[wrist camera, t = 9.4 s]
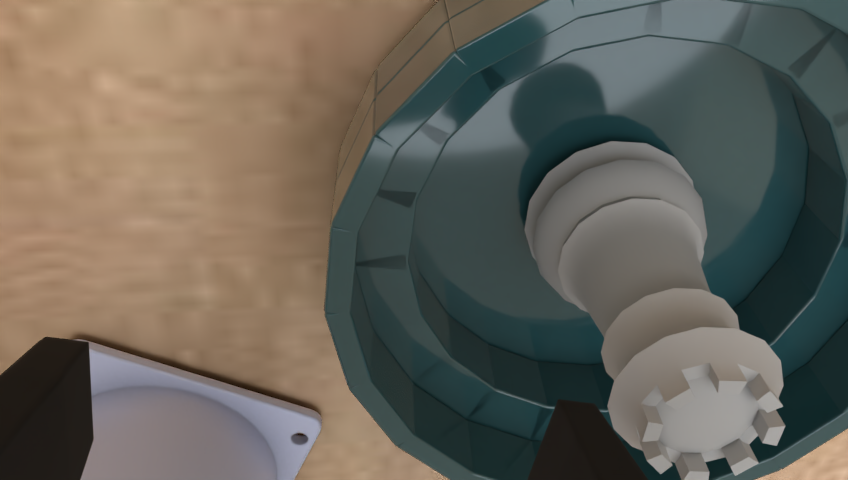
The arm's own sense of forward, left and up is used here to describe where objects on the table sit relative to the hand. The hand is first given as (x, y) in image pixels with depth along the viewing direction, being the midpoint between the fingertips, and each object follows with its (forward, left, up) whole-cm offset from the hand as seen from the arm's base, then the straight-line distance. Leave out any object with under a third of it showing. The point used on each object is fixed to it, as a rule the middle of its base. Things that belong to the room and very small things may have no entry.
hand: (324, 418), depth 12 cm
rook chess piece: (+2, -7, -9) cm, 11 cm away
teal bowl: (+2, -7, -9) cm, 12 cm away
